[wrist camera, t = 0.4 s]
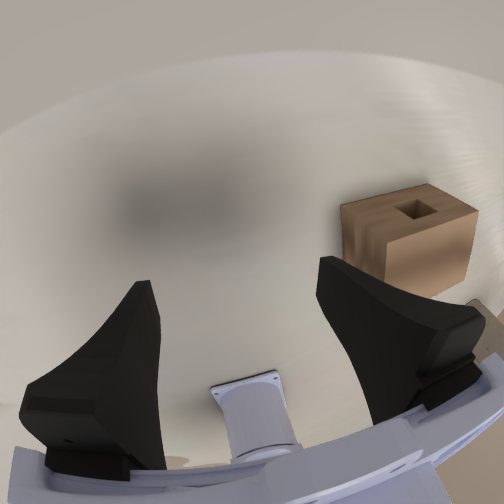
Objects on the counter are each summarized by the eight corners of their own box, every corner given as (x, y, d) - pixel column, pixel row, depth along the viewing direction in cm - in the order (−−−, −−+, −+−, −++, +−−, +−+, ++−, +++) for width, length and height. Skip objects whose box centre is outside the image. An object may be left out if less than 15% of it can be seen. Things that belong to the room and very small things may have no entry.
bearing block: (423, 246, 27) (464, 280, 21) (343, 274, 26) (379, 320, 20) (428, 183, 23) (478, 210, 18) (340, 205, 22) (387, 243, 17)
